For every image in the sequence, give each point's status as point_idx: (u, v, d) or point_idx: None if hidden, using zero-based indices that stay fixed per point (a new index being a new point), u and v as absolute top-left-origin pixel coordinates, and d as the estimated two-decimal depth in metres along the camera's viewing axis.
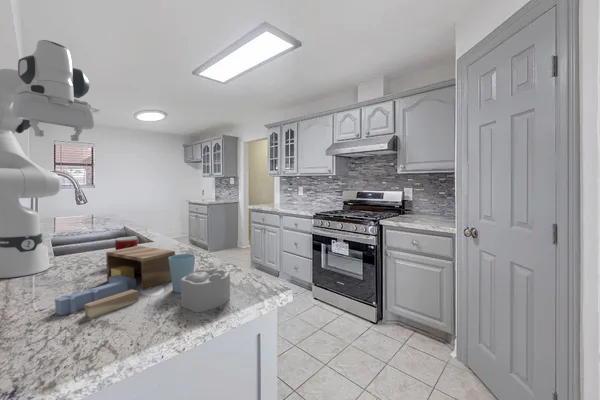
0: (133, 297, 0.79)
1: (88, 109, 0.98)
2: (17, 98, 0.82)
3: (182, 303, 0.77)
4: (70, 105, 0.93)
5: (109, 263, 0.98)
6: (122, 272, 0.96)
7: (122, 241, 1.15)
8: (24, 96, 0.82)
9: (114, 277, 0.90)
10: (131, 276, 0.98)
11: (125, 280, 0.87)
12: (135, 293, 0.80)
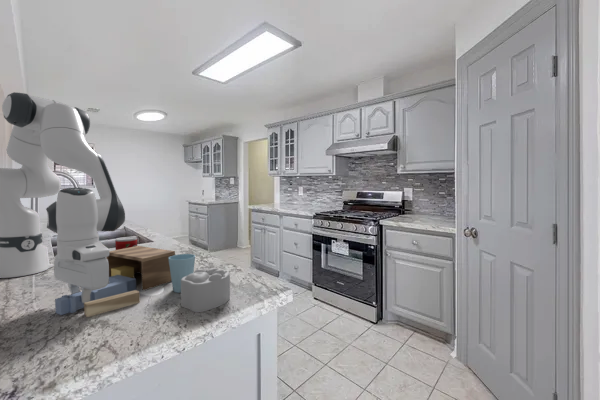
0: (134, 298, 0.78)
1: None
2: (101, 267, 0.72)
3: (182, 303, 0.77)
4: None
5: (109, 263, 0.98)
6: (122, 272, 0.96)
7: (122, 241, 1.15)
8: None
9: (114, 277, 0.90)
10: (131, 276, 0.98)
11: (125, 280, 0.87)
12: (136, 294, 0.79)
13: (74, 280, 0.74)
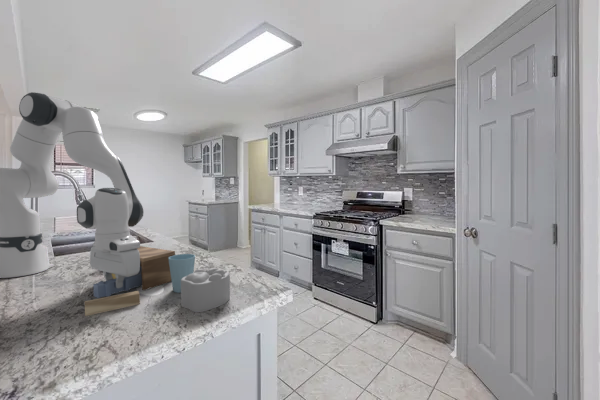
0: (134, 299, 0.78)
1: None
2: (134, 257, 0.83)
3: (182, 303, 0.77)
4: None
5: None
6: None
7: None
8: None
9: None
10: None
11: None
12: (136, 295, 0.78)
13: (109, 268, 0.85)
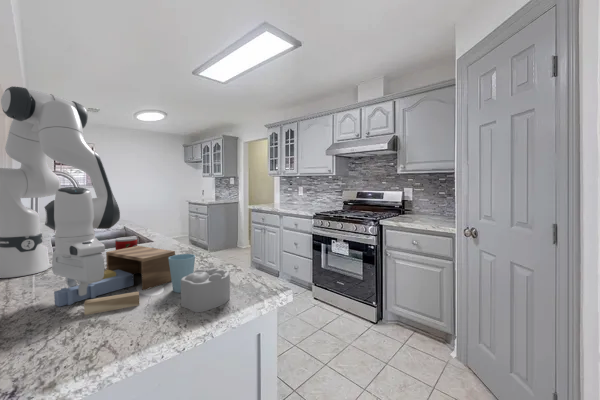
0: (133, 300, 0.77)
1: None
2: (97, 262, 0.77)
3: (182, 303, 0.77)
4: None
5: (109, 263, 0.98)
6: None
7: (122, 241, 1.15)
8: None
9: None
10: None
11: (123, 275, 0.91)
12: (135, 296, 0.77)
13: (71, 274, 0.79)
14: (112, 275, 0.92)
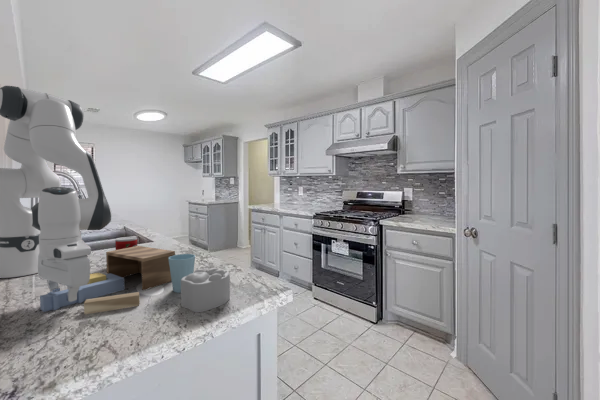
0: (132, 300, 0.77)
1: None
2: (82, 265, 0.74)
3: (182, 303, 0.77)
4: None
5: (109, 263, 0.98)
6: (91, 281, 0.87)
7: (122, 241, 1.15)
8: None
9: None
10: None
11: (113, 279, 0.88)
12: (135, 297, 0.77)
13: (56, 278, 0.76)
14: (102, 278, 0.89)
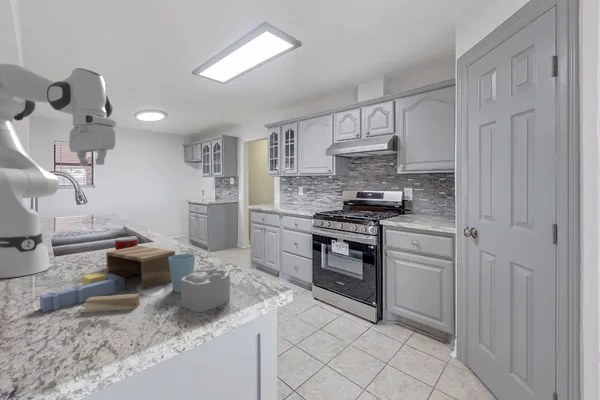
0: (130, 302, 0.75)
1: None
2: (109, 131, 0.88)
3: (182, 303, 0.77)
4: None
5: (109, 263, 0.98)
6: (91, 281, 0.87)
7: (122, 241, 1.15)
8: None
9: None
10: None
11: (113, 279, 0.88)
12: (133, 299, 0.76)
13: (86, 145, 0.90)
14: (102, 278, 0.89)
